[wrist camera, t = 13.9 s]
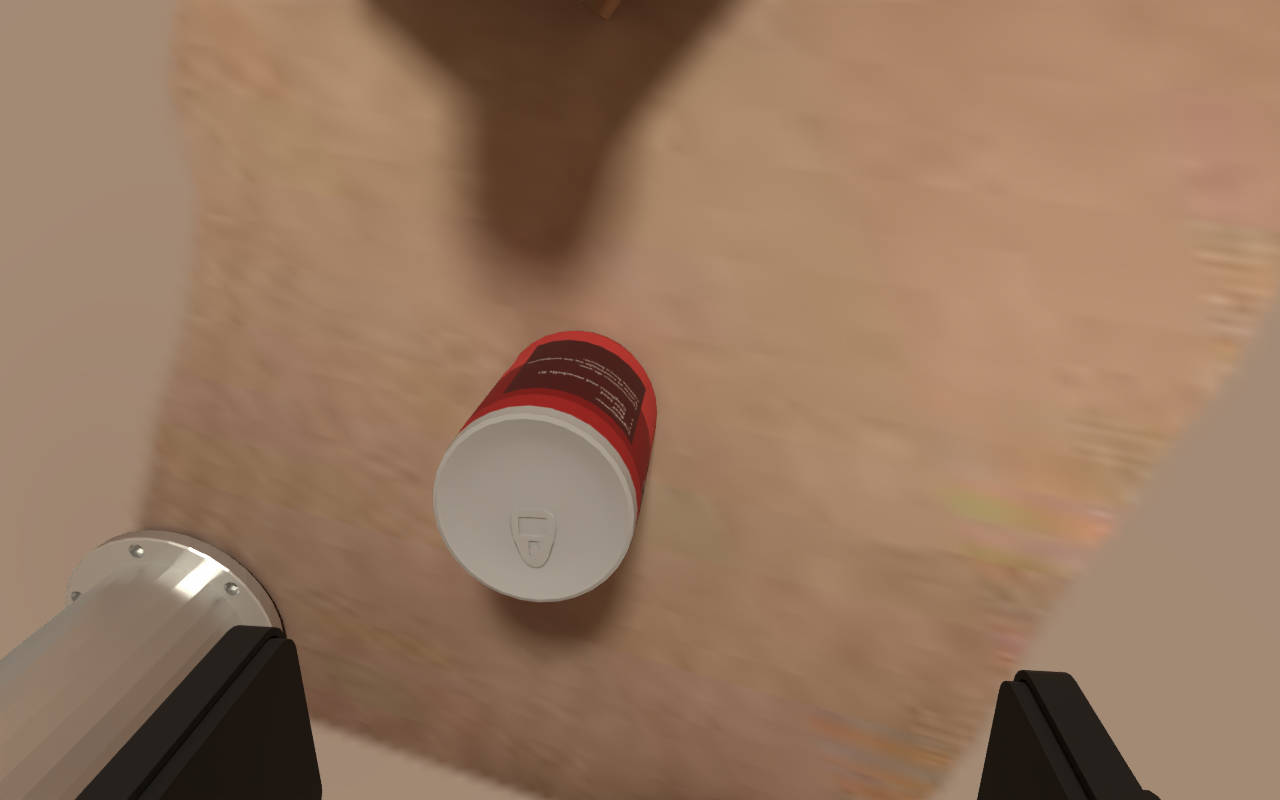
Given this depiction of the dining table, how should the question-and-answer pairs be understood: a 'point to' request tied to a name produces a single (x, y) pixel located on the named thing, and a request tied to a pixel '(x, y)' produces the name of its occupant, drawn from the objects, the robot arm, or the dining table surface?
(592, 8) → the bottom block
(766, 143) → the dining table surface
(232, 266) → the dining table surface
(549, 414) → the canned food
